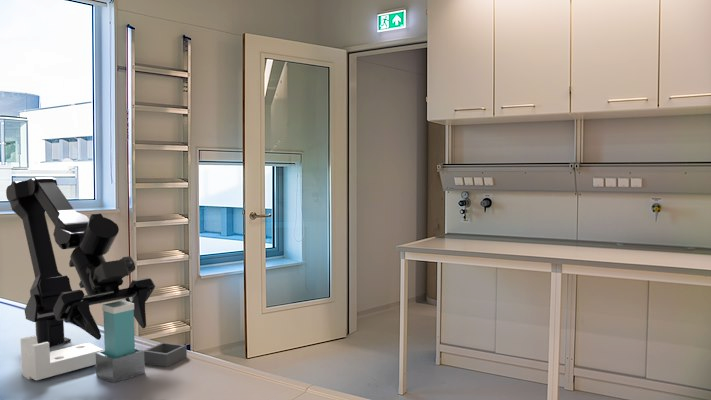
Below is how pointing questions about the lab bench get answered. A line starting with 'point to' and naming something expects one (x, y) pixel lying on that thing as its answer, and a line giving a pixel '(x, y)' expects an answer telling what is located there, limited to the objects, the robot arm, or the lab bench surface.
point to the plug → (118, 328)
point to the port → (120, 366)
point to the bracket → (54, 358)
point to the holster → (165, 354)
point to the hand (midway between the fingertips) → (122, 332)
